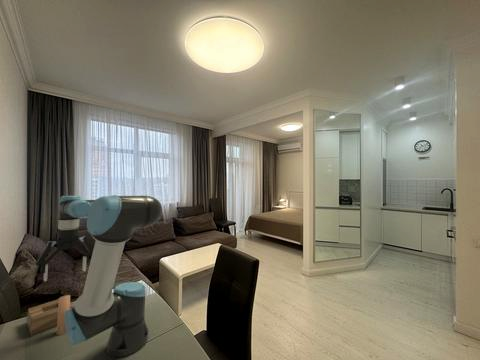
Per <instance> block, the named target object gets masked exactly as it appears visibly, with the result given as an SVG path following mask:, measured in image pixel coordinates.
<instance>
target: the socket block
mask: <svg viewBox="0 0 480 360" xmlns="http://www.w3.org/2000/svg"><path fill="white" fill-rule="evenodd" d="M58 302H59V298H57V299H55V300H52V301H48V302H45V303H42V304H39V305H36V306H33V307H30V308H28V309H27V320H26V321H27V322H26V326H27V325H28V326H27V328H28V331H29V335H30V337H31V338H32V337H34V336H36V335H39V334H41V333H45V332H46V331H49V330H52V329H54V328H57V318H58ZM73 307H74V304H73V303H72V302H71V301H70V308H73Z"/></svg>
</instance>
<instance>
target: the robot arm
mask: <svg viewBox="0 0 480 360" xmlns="http://www.w3.org/2000/svg"><path fill="white" fill-rule="evenodd" d="M58 205H59V206H58V207H59V208H58V225H57V229H58V230H57V238H56V240H55V241H51V240H48V241H47V243H46V246H45V248H44V250H43V251H42V252H41V254H40V256H39V257H38V259H36V261H35V265H36V266H40V273H41V274H42V275H43V282H48V274H49V272H48V271H49V264H48V263H49V262H51V260H52V259H53V258H54V257H55V256H56V255H57V254H58V253H59V252H61V250H64V251H65V250H71V249H74V248H75V249H76V250H78V251H79V252H80V253H81V254H83V255H84V256H82V269H81V270H82V272H87V275H86V280H85V282H84V287H83V292H82V294H81V295H80V296H79V297H78V298H77V299H76V301H75V302H74V305H73V308H70V309H68V310H67V311H66V312H65V317H64V319H65V328H66V333H65V334H66V335H67V339H68V341H69V343H70V344H71V345H74V346H76V345H79V344H81V343H83V342H87V341H88V340H90V339H91V338H93V337H95V336H97V335H99V334H101V333H103V332H105V331H107V330H109V329H111V331H110V334H109V337H108V340H107V343H106V353H107V355H108V356H110V357H111V358H112V357H113V358H123V357H127V356H129V355H132V354H134V353H136V352H138V351H139V350H141V348H143V347H144V346H145V345H146V344H147V342H148V341H149V333H150V332H149V327H148V325H147V322H146V319H145V317H146V316H145V315H146V314H145V313H146V295H147V293H146V285H144V284H143V283H141V282H137V281H136V282H135V281H131V282H130V281H129V282H123V283H120V284H116V286H114V284H115V283H116V282H115V281H116V277H117V274H118V271H119V266H120V263H121V259H122V256H123V251H124V249H125V245H126V242H128V241H129V240H131V238H132V236H133V233H134V230H138V229H144V228H149V227H151V226H153V225H155V224H156V223H157V222H158V221H159V220H160V219H161V217H162V214H163V206H162V203H161V202H160V201H159V200H158V199H157V198H155V197H153V196H149V195H116V194H115V195H107V196H99V197H98V198H96V199H81V196H80V195H62V196H60V198H59V202H58ZM85 217H87V218H86V219H87V221H86V230H87V231H88V233H89V234H90V235H91V237H92V238H93V240H95V241H94V245H93V246H94V247H93V248H92V247H91V245H90V244H89V242H88V238H87V237H86V236H85V235H84V236H82V237H80V234H79V233H80V229H79V227H80V220H81V219H82V218H85ZM80 218H81V219H80ZM79 242H82V243H83V245H84V246H85V248H86V250H87V251H85V249H83V248H82V247H81V246H80V245H79V244H78V243H79ZM54 245H56V248H54V250H53V251H52V252H51V253H50V254H49V255H48V253H49V251H50V250H51V248H52V247H54ZM47 255H48V256H47ZM46 256H47V257H46ZM90 257H91V258H90ZM89 262H90V263H89ZM87 264H89V267H88V270H87Z"/></svg>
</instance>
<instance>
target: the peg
mask: <svg viewBox="0 0 480 360" xmlns="http://www.w3.org/2000/svg"><path fill="white" fill-rule="evenodd" d="M58 299H59V302H58V318H57V327H56V335H57V336H61V335H64V334H67V333H66V328H65V319H64V317H65V312H66V311H67V310H68V309H70V302H71V295H70V294H65V295H63V296H60V297H59V298H58Z"/></svg>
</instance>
